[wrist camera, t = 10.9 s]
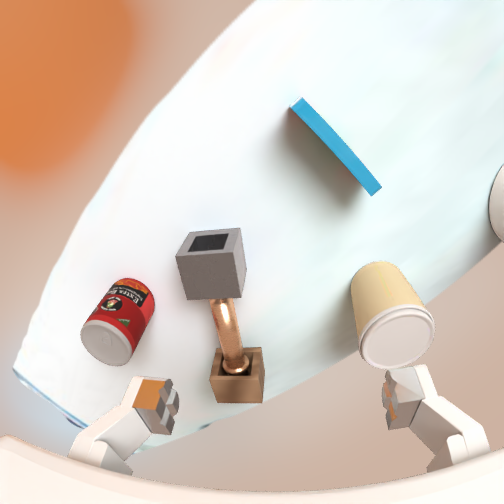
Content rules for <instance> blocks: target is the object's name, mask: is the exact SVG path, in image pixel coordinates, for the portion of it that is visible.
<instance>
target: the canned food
mask: <svg viewBox="0 0 504 504" xmlns="http://www.w3.org/2000/svg"><path fill="white" fill-rule="evenodd" d="M154 304H155V303H154V298H153V295H152V293H151V291H150V290H149V289H148V288H147V287H146V286H145V285H144V284H143V283H141V282H140V281H137V280H135V279H131V278H124V279H121V280H119V281H117V282H116V283H114V284H113V285H112V287H111V288H110V289H109V291H108V292H107V293H106V295H105V296H104V297H103V299H102V300H101V301H100V303H99V304H98V305H97V307H96V308H95V310H94V311H93V312H92V314H91V315H90V316H89V318H88V319H87V321H86V322H85V324H84V325H83V328H82V330H81V334H80V335H81V340H82V343H83V345H84V346H85V348H86V349H87V351H88V352H89V353H90V354H91V355H92V356H94V357H95V358H96V359H98V360H99V361H101V362H103V363H105V364H108V365H112V366H122V365H125V364H126V363H128V361H129V360H130V358H131V357H132V354H133V353H134V351H135V349H136V347H137V345H138V342H139V340H140V338H141V336H142V334H143V332H144V330H145V328H146V326H147V324H148V322H149V320H150V318H151V316H152V314H153V312H154Z"/></svg>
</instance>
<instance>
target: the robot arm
mask: <svg viewBox="0 0 504 504" xmlns="http://www.w3.org/2000/svg"><path fill="white" fill-rule="evenodd" d="M489 214H490V221H491V225H492V228H493V230H494V232H495V233H496V235H497V236H498V237H499V238H500V239H501V240H502V241H503V242H504V165H503V166H502V168H501V169H500V171H499V173H498V175H497V177H496V179H495V181H494V184H493V187H492V191H491V196H490V203H489ZM385 378H386V382H385V383H384V384H383V388H382V402H383V407H385V408H386V409H387V413H386V420H387V425H388V430H391V429H398V428H405V427H409V428H410V429H411V430H412V431H413V432H414V433H415V434H416V435H417V436H418V437H419V439H420V440H422V442H423V443H424V444H425V445H426V446H427V447H428V448H429V449H430V450H431V451H432V452H433V453H434V454H435V455H436V456H435V457H434V459H433V460H432V461H431V463H430V464H429V465H428V467H427V473H424V474H420V475H416V476H412V477H407V478H402V479H398V480H392V481H387V482H382V483H376V484H369V485H363V486H355V487H347V488H338V489H327V490H314V491H292V492H257V491H233V490H219V489H208V488H200V487H191V486H184V485H177V484H171V483H165V482H159V481H154V480H149V479H143V478H139V477H134V476H132V473H133V471H132V469H131V468H130V467H129V466H128V465H127V464H126V463H125V462H124V461H125V460H126V459H127V458H128V457H129V456H131V455H132V454H133V453H134V452H135V451H136V450H137V449H138V448H139V447H140V446H141V445H142V444H143V443H144V442H145V441H146V440H147V439H148V438H149V437H150V436H151V435H152V433H155V434H165V435H171V433H172V430H173V426H174V423H175V421H174V419H173V416H174V415H176V414H177V412H178V409H179V397H178V394H177V392H176V391H175V390H174V389H172V386H173V383H172V381H171V379H165V378H154V377H144V376H134V377H133V378H132V379H131V382H130V384H129V386H128V388H127V391H126V393H125V395H124V397H123V400H122V402H121V404H120V406H116V407H114V408H113V409H112V410H110V411H109V412H107V413H106V414H105V415H103V416H102V417H101V418H99V419H98V420H97V421H95V422H94V423H92V424H91V425H90V426H88V427H87V428H86V429H84V430H83V431H81V432H80V433H79V434H78V435H77V437H76V439H75V441H74V443H73V445H72V448H71V450H70V452H69V454H68V457H64V456H61V455H58V454H56V453H53V452H50V451H48V450H45V449H43V448H40V447H38V446H35V445H33V444H30V443H28V442H26V441H24V440H21V439H19V438H17V437H15V436H12V435H4V436H2V437H0V504H504V447H503V448H501V449H498V450H496V451H493V452H491V450H490V447H489V444H488V441H487V438H486V435H485V432H484V430H483V427H482V426H481V425H480V424H479V423H477V422H476V421H475V420H473V419H472V418H471V417H469V416H468V415H467V414H465V413H464V412H463V411H461V410H460V409H459V408H457V407H456V406H454V405H453V404H452V403H451V402H449V401H448V400H447V399H445V398H444V397H443V396H438V394H437V392H436V389H435V386H434V384H433V381H432V379H431V376H430V373H429V371H428V368H427V366H426V365H425V364H422V365H416V366H409V367H403V368H397V369H390V370H387V372H386V375H385Z"/></svg>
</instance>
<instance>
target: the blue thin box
mask: <svg viewBox="0 0 504 504" xmlns="http://www.w3.org/2000/svg"><path fill="white" fill-rule="evenodd" d="M290 108H291V109H292V110H293V111H294V112H295V113H296V114H297V115H298V116H299V117H300V118H301V119H302V120H303V121H304V122H305V123H306V124H307V125H308V126H309V127H310V128H311V129H312V130H313V131H314V132H315V133H316V134H317V135H318V136H319V137H320V139H321V140H322V141H323V142H324V143H325V144H326V145H327V146H328V147H329V148H330V149H331V150H332V151H333V153H334V154H335V155H336V156H337V157H338V158H339V159H340V160H341V161H342V163H343V164H344V165H345V166H346V167H347V168H348V169H349V171H350V172H351V173H352V174H353V175H354V176H355V177H356V179H357V180H358V181H359V182H360V183H361V185H362V186H363V187H364V188H365V189H366V191H367V192H368V193H369V194H370V195H371V196H373V195H374V194H375V193H376V192H377V191H378V190H380V189H381V188H382V186H381V185H380V184H379V183H378V181H377V180H376V179H375V178H374V176H373V175H372V174H371V173H370V172H369V170H368V169H367V168H366V167H365V166H364V164H363V163H362V162H361V161H360V160H359V158H358V157H357V156H356V155H355V154H354V153H353V151H352V150H351V149H350V148H349V147H348V146H347V145H346V143H345V142H344V141H343V140H342V139H341V138H340V137H339V136H338V135H337V133H336V132H335V131H334V130H333V129H332V128H331V127H330V126H329V125H328V124H327V123H326V122H325V120H324V119H323V118H322V117H321V116H320V115H319V114H318V113H317V112H316V111H315V110H314V109H313V108H312V107H311V106H310V105H309V104H308V103H307V102H306V101H305V100H304V99H303V98H302V97H298V98H297V99H296V100H295V101H294V102H293V103H292V104H291V105H290Z"/></svg>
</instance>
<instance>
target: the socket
mask: <svg viewBox="0 0 504 504" xmlns="http://www.w3.org/2000/svg"><path fill="white" fill-rule="evenodd" d="M243 352H244V355H246V356H247V357H248V359H249V368H248V370H247V371H248V375H249V376H229V374H227V373H226V372H225V371H224V368H223V360H224V355H223V352H222V348H217V349H216V353H215V358H214V362H213V366H212V370H211V375H210V379H209V380H210V383H211V386H212V389H213V392H214V395H215V397H216V400H217V403H262V402H263V389H264V376H265V369H264V363H263V357H262V350H261V347H254V348H243Z"/></svg>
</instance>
